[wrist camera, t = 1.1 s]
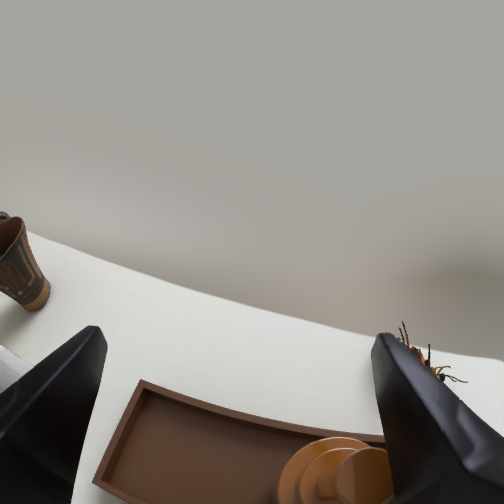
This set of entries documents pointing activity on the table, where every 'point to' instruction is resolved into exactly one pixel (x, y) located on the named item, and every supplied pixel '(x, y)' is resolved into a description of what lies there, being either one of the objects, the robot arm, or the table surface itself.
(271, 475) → the tray
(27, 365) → the salt shaker
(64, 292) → the table surface
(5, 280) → the cup
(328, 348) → the table surface
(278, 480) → the amber bottle
